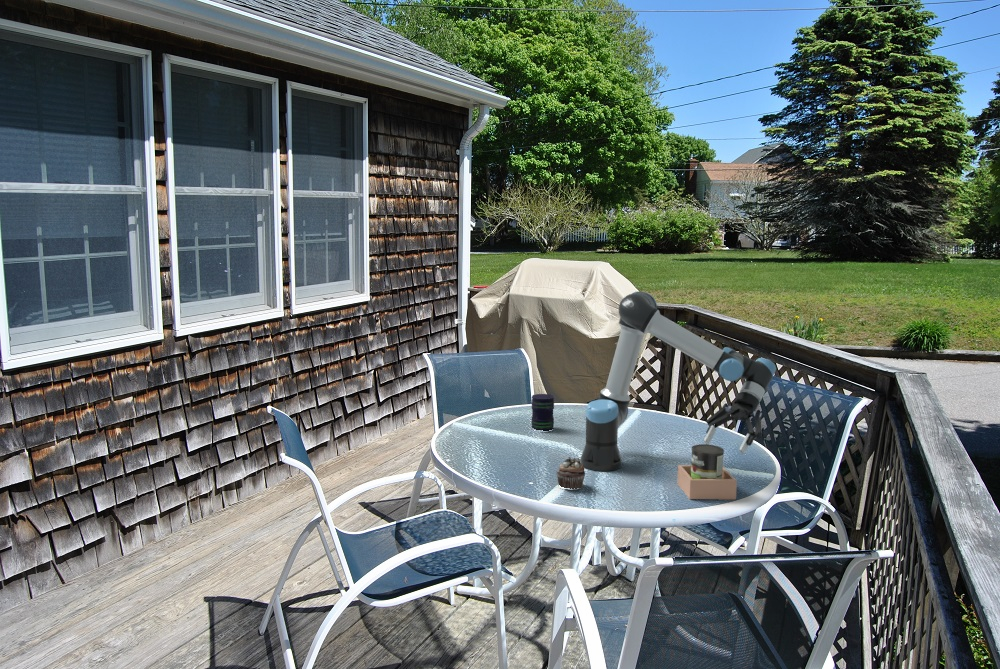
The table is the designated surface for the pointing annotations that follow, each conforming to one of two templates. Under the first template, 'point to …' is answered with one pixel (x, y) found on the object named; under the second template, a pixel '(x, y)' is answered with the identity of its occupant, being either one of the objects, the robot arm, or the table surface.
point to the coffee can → (707, 462)
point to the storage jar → (542, 412)
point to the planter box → (706, 485)
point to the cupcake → (571, 473)
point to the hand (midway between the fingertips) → (723, 447)
